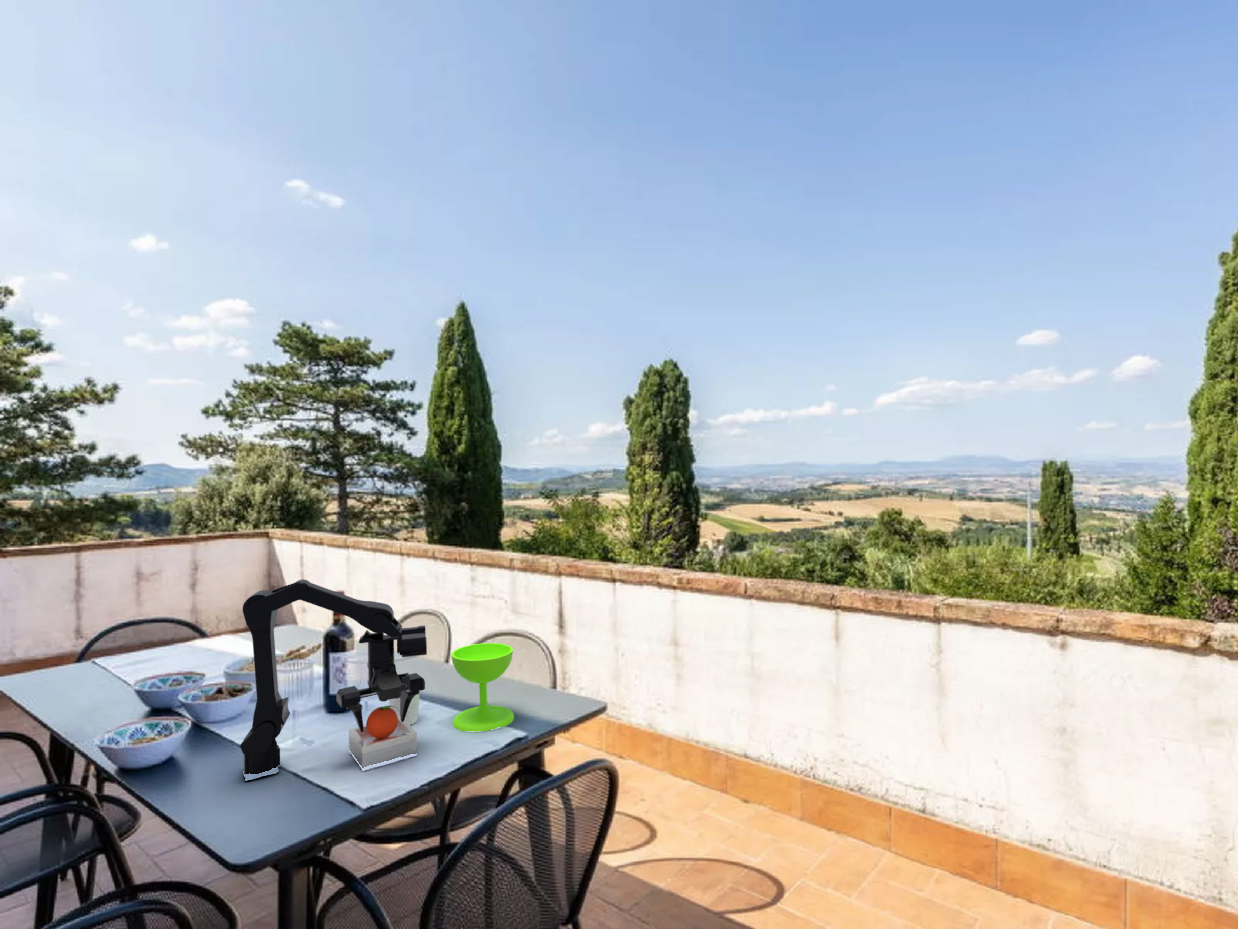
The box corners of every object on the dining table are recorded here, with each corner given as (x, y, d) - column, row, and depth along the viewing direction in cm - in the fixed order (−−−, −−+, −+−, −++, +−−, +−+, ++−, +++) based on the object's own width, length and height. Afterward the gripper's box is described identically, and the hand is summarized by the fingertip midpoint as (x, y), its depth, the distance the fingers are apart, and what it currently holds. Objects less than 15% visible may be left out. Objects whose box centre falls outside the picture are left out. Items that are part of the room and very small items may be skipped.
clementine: (392, 727, 150) (391, 697, 151) (408, 734, 146) (407, 704, 146) (360, 738, 144) (360, 708, 144) (376, 746, 140) (376, 715, 140)
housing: (362, 771, 136) (362, 746, 137) (349, 752, 146) (348, 729, 146) (417, 756, 144) (416, 732, 144) (400, 738, 153) (400, 716, 153)
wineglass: (439, 725, 161) (437, 656, 161) (480, 704, 175) (479, 640, 175) (487, 737, 153) (486, 663, 153) (526, 713, 167) (525, 647, 168)
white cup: (426, 717, 166) (425, 680, 167) (408, 729, 159) (408, 690, 159) (400, 714, 169) (400, 678, 169) (382, 726, 161) (381, 687, 161)
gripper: (347, 676, 133) (348, 749, 133) (432, 659, 144) (433, 727, 144) (335, 664, 142) (336, 732, 142) (416, 649, 153) (417, 712, 153)
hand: (382, 726), depth 145 cm, fingers open, 9 cm apart
